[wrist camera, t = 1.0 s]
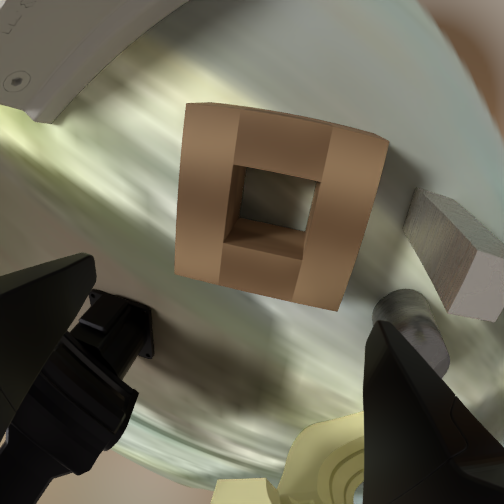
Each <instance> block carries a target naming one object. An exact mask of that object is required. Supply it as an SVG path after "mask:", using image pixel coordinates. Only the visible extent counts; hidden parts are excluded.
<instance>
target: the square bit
mask: <svg viewBox="0 0 504 504" xmlns="http://www.w3.org/2000/svg"><path fill="white" fill-rule="evenodd" d="M403 232H404V233H405V235H406V237H407V238H408V240H409V242H410V243H411V245H412V247H413V249H414V250H415V252H416V254H417V256H418V257H419V259H420V261H421V263H422V265H423V266H424V268H425V270H426V272H427V274H428V276H429V278H430V279H431V281H432V283H433V285H434V287H435V289H436V291H437V293H438V295H439V297H440V299H441V301H442V303H443V305H444V307H445V309H446V311H447V313H449V314H454V315H459V316H464V317H470V318H475V319H480V320H486V321H491V322H495V321H496V320H497V318H498V316H499V315H500V313H501V311H502V309H503V308H504V244H503V243H502V242H501V241H500V240H499V239H498V238H497V237H496V236H495V235H494V234H492V233H491V232H490V231H489V230H488V229H487V228H486V227H485V226H484V225H483V224H482V223H481V222H479V221H478V220H477V219H476V218H475V217H474V216H473V215H472V214H470V213H469V212H468V211H467V210H466V209H465V208H463V207H462V206H461V205H460V204H459V203H457V202H456V201H455V200H454V199H451V198H448V197H445V196H442V195H439V194H436V193H433V192H430V191H427V190H424V189H420V188H417V187H416V189H415V192H414V195H413V199H412V202H411V205H410V208H409V211H408V214H407V218H406V221H405V224H404V227H403Z"/></svg>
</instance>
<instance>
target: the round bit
mask: <svg viewBox="0 0 504 504" xmlns="http://www.w3.org/2000/svg"><path fill="white" fill-rule="evenodd" d="M377 320H384V321H389V322H391V323H392V324H393V325H394V326H395V327H396V328H397V330H398V331H399V332H400V333H401V334H402V335H403V336H404V337H405V338H406V339H407V340H408V342H409V343H410V344H411V345H412V346H413V347H414V348H415V349H416V350H417V352H418V353H419V354H420V355H421V356H422V357H423V358H424V359H425V360H426V362H427V363H428V364H429V365H430V366H431V367H432V368H433V370H434V371H435V372H436V373H437V374H438V375H439V376H440V378H442V377H443V376H444V375H445V374H446V372H447V370H448V368H449V365H450V357H449V354H448V351H447V349H446V346H445V343H444V341H443V338H442V336H441V333H440V331H439V328H438V326H437V323H436V321H435V319H434V316H433V314H432V311H431V309H430V307H429V305H428V302H427V300H426V298H425V297H424V296H423V295H422V294H421V293H420V292H418V291H415V290H411V289H401V290H397V291H394V292H391V293H389V294H388V295H386V296H385V297H383V298H382V299H381V300H380V301H379V302H378V303H377V305H376V306H375V308H374V311H373V315H372V321H373V326H374V324H375V322H376V321H377Z"/></svg>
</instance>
